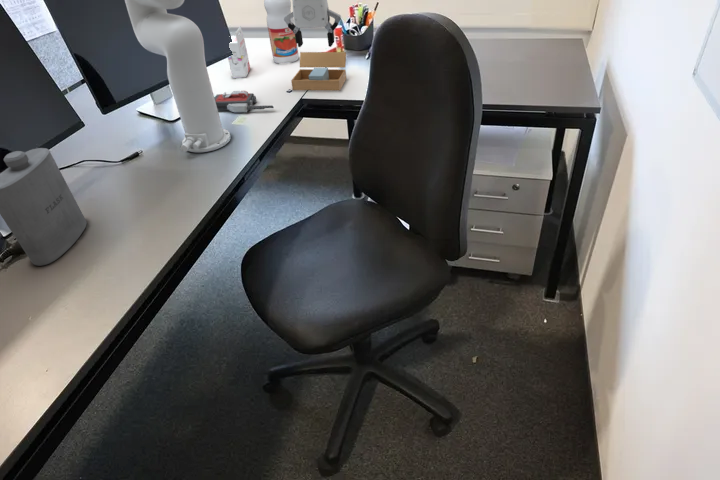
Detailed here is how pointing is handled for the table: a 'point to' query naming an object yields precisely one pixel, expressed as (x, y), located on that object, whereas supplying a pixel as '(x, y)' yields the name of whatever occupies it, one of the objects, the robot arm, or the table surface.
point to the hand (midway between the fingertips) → (315, 45)
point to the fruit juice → (281, 31)
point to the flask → (39, 205)
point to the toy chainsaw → (237, 102)
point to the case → (319, 74)
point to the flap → (322, 59)
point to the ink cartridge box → (238, 56)
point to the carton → (334, 82)
